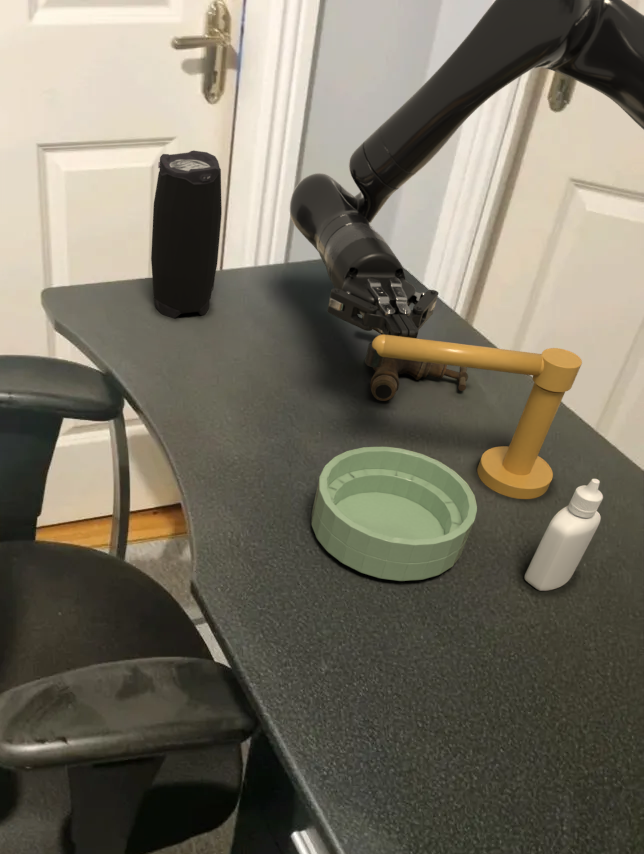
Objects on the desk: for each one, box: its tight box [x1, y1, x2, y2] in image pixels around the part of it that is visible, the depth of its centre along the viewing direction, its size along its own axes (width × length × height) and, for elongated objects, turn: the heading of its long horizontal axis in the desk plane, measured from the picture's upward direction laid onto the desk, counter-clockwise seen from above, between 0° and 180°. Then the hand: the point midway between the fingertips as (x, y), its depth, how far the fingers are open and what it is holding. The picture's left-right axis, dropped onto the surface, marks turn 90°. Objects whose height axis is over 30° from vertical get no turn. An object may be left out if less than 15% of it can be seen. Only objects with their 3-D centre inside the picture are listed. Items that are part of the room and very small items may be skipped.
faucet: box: [361, 315, 469, 402], centre depth 110 cm, size 5×17×15 cm
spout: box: [364, 334, 583, 393], centre depth 88 cm, size 21×4×3 cm, turn 83°
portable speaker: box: [150, 149, 223, 319], centre depth 114 cm, size 9×9×20 cm
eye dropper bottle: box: [523, 478, 604, 592], centre depth 81 cm, size 4×6×12 cm
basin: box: [311, 446, 478, 582], centre depth 86 cm, size 16×16×6 cm
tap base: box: [476, 382, 566, 500], centre depth 93 cm, size 8×8×12 cm
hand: (407, 341), depth 89 cm, fingers closed
